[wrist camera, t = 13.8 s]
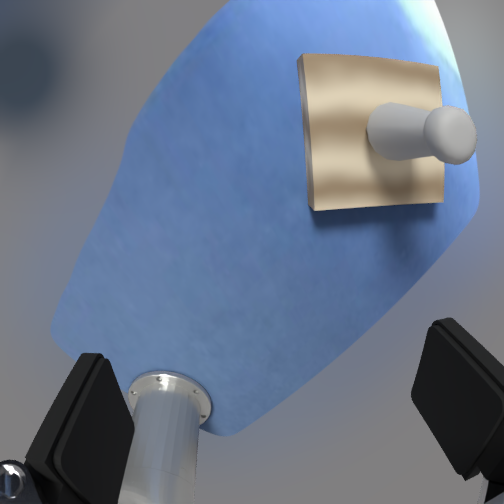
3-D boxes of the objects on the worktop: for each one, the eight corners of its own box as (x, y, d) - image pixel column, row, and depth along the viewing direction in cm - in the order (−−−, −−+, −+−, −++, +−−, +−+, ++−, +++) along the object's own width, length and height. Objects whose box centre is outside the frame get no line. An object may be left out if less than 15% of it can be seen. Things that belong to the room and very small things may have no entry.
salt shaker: (381, 92, 28) (458, 78, 16) (416, 132, 29) (499, 139, 17) (347, 131, 29) (415, 132, 17) (384, 169, 31) (461, 193, 19)
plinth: (430, 196, 35) (443, 202, 32) (308, 204, 35) (314, 210, 32) (424, 69, 30) (438, 66, 27) (296, 60, 29) (302, 53, 26)
